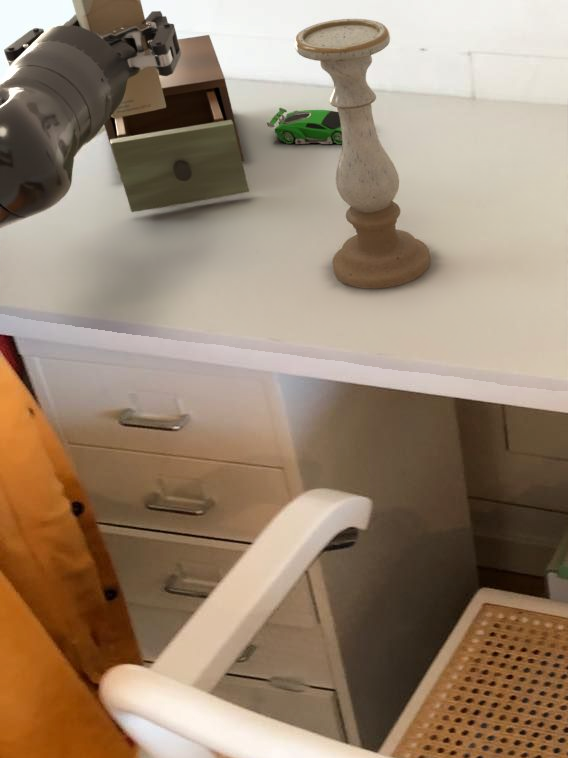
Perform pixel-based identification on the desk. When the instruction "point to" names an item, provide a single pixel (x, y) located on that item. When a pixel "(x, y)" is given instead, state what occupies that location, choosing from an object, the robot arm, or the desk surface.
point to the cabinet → (193, 79)
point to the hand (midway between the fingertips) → (121, 24)
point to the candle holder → (363, 159)
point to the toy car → (308, 126)
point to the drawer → (178, 153)
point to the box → (109, 11)
